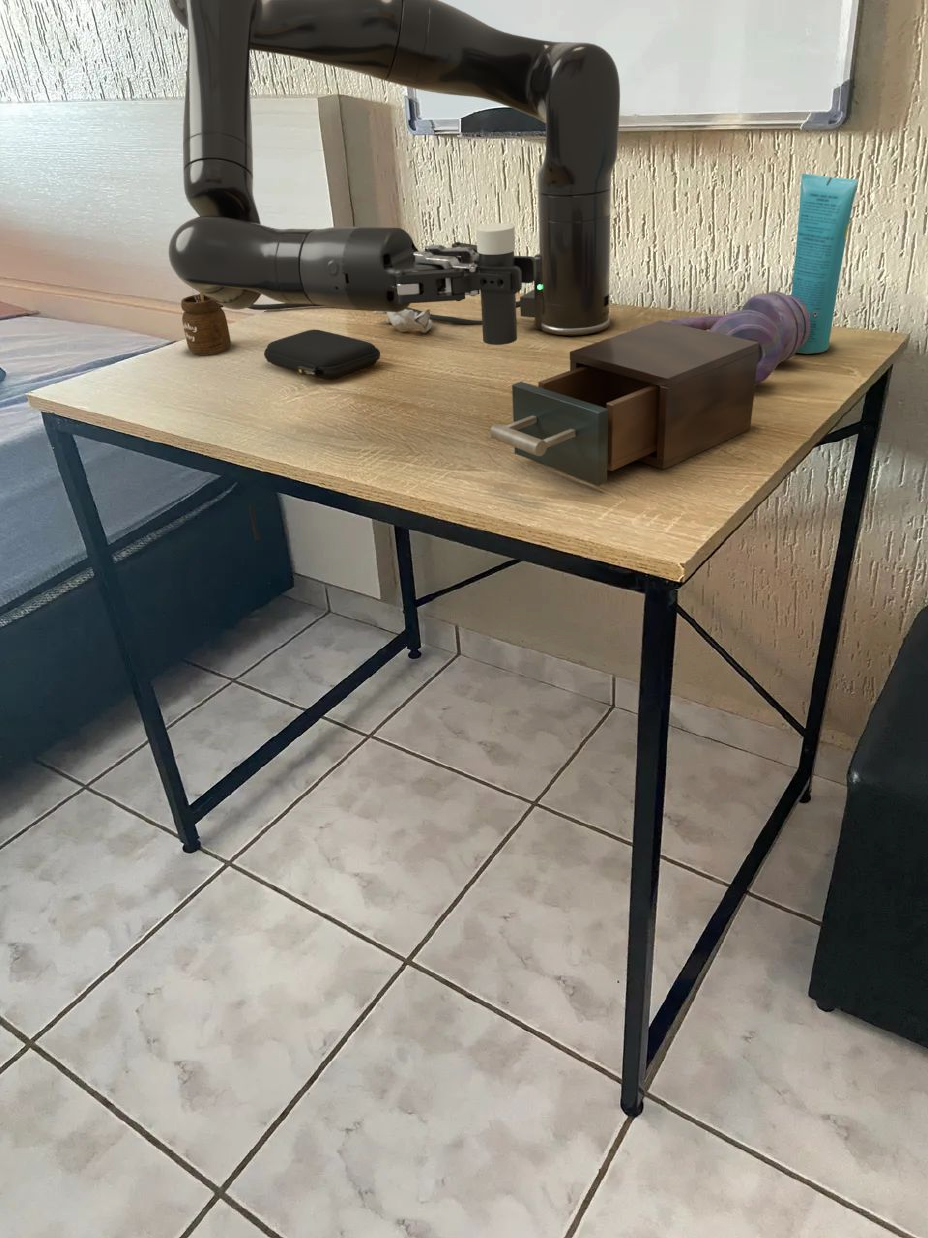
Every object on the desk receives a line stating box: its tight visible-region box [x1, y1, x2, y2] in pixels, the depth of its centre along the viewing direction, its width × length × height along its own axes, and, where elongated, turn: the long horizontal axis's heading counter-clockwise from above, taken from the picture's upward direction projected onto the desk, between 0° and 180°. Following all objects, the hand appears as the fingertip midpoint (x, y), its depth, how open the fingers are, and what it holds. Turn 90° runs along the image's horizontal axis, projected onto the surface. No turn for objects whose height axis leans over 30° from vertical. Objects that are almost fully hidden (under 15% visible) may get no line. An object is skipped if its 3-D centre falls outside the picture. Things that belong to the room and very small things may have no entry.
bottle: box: [475, 222, 518, 346], centre depth 86 cm, size 3×3×10 cm
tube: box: [791, 173, 860, 355], centre depth 109 cm, size 7×5×19 cm, turn 39°
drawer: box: [489, 365, 660, 487], centre depth 88 cm, size 17×11×7 cm, turn 130°
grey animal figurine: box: [373, 308, 434, 334], centre depth 131 cm, size 8×5×12 cm
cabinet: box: [569, 320, 759, 470], centre depth 93 cm, size 13×12×9 cm
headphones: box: [631, 290, 811, 386], centre depth 109 cm, size 18×8×20 cm
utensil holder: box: [180, 284, 232, 356], centre depth 128 cm, size 6×6×12 cm
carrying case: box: [263, 329, 381, 381], centre depth 121 cm, size 11×3×15 cm
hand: (526, 274), depth 84 cm, fingers closed on bottle, 3 cm apart
